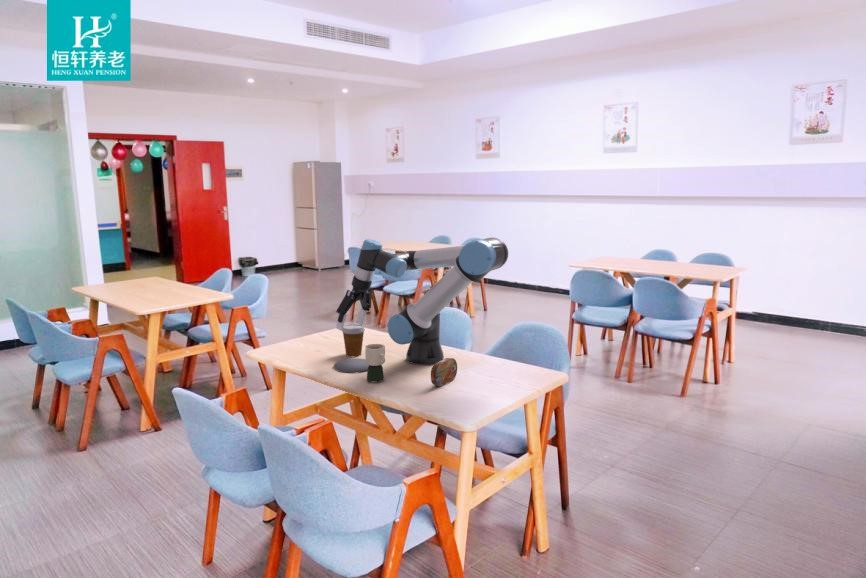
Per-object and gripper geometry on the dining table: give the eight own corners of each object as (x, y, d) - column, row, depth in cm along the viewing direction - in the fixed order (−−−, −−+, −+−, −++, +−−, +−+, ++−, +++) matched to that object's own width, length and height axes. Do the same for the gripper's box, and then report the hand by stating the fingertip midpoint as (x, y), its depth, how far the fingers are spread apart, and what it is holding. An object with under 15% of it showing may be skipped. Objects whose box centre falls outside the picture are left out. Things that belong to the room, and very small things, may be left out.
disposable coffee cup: (340, 357, 243) (339, 329, 241) (344, 351, 252) (344, 323, 250) (363, 358, 242) (362, 329, 240) (366, 351, 252) (366, 324, 250)
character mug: (392, 383, 212) (392, 347, 210) (375, 387, 207) (375, 351, 205) (375, 375, 220) (375, 341, 218) (358, 379, 216) (358, 344, 214)
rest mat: (382, 363, 235) (382, 361, 235) (361, 374, 221) (361, 372, 220) (348, 358, 241) (348, 356, 241) (325, 369, 227) (325, 367, 227)
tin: (436, 389, 206) (436, 366, 204) (428, 387, 207) (429, 364, 206) (457, 378, 218) (458, 356, 217) (450, 376, 220) (450, 354, 218)
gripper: (373, 272, 245) (360, 318, 251) (336, 276, 224) (322, 327, 229) (387, 278, 242) (374, 325, 248) (351, 284, 221) (337, 335, 226)
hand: (349, 326), depth 239 cm, fingers open, 13 cm apart
